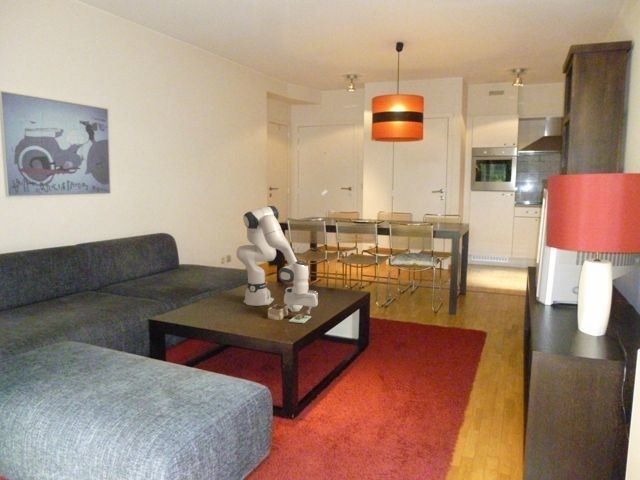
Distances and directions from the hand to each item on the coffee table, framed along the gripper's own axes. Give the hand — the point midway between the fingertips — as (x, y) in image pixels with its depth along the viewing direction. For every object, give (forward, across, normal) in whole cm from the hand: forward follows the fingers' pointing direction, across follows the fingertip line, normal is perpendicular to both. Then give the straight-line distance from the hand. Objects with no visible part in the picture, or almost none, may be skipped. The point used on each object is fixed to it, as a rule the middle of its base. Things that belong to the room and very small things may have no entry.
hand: (300, 312), depth 290 cm
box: (+5, +15, -2) cm, 16 cm away
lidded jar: (+5, +11, -20) cm, 23 cm away
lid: (+4, 0, +1) cm, 4 cm away
